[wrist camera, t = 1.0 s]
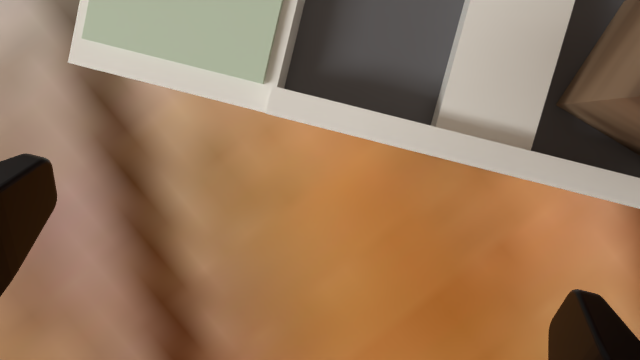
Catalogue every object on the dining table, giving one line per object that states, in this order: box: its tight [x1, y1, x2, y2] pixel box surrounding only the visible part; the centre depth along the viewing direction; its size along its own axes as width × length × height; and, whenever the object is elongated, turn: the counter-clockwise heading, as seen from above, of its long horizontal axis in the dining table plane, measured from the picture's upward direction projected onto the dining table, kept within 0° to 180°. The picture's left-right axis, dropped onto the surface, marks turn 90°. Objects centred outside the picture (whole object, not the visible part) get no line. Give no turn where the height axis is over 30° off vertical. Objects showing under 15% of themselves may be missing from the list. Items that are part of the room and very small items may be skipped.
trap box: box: [68, 0, 640, 209], centre depth 20 cm, size 26×9×3 cm, turn 76°
